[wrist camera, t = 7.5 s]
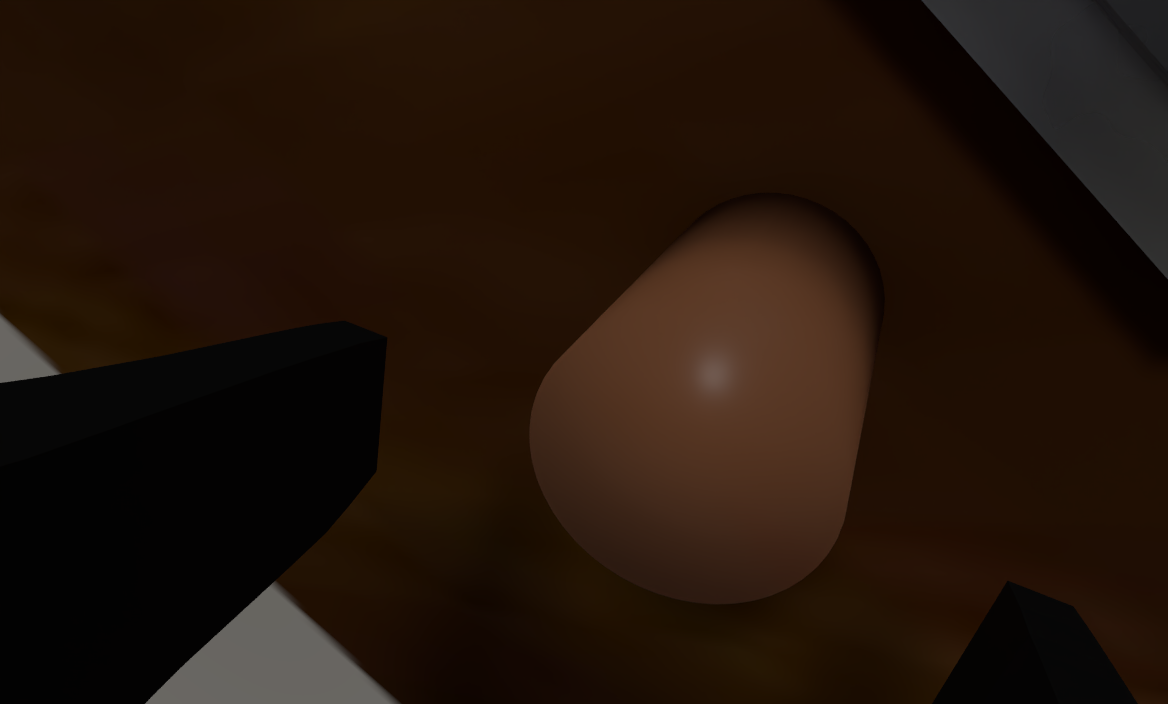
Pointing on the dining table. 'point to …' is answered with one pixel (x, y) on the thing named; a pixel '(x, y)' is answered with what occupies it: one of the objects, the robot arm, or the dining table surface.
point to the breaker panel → (1085, 93)
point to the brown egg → (718, 405)
